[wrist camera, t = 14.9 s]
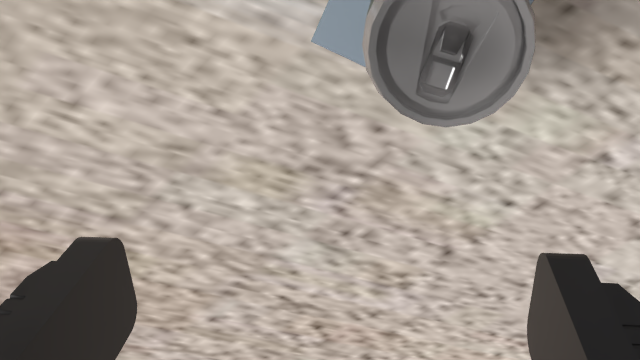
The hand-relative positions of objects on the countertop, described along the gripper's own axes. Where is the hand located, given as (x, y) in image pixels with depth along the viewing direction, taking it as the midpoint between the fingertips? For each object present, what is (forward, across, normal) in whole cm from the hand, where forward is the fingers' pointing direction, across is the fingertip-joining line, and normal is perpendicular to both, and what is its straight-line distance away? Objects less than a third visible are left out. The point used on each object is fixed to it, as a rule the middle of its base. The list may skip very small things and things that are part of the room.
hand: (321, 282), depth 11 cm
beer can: (+21, -3, -2) cm, 21 cm away
